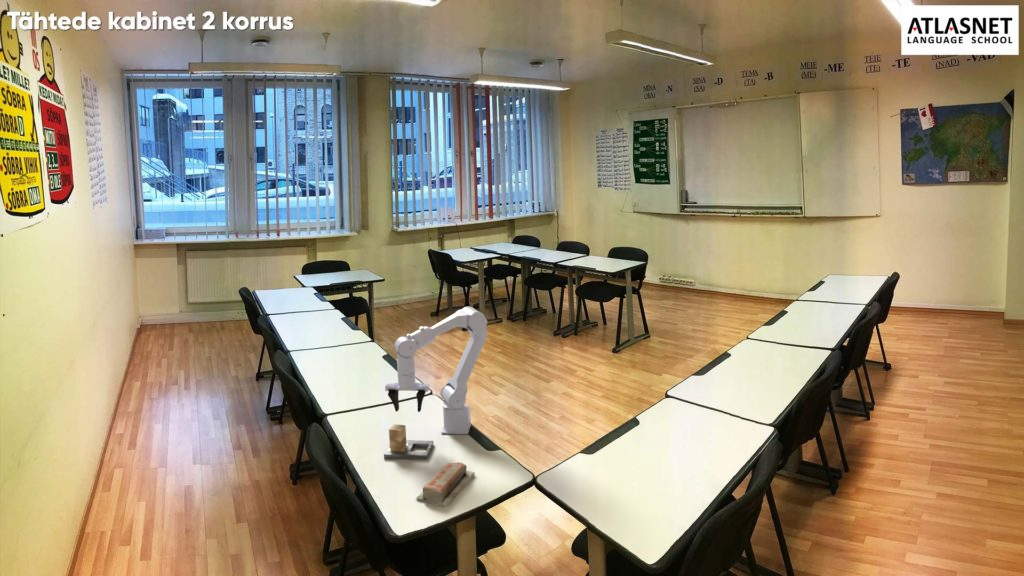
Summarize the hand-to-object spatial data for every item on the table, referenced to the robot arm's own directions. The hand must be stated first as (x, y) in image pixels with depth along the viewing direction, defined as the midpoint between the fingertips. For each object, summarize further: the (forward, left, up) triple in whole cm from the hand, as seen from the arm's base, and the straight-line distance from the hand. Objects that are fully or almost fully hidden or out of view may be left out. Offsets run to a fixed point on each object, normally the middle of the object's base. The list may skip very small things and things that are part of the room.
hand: (408, 410), depth 202 cm
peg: (+1, +9, -9) cm, 13 cm away
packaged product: (-18, +30, -11) cm, 37 cm away
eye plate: (-2, +9, -10) cm, 14 cm away
